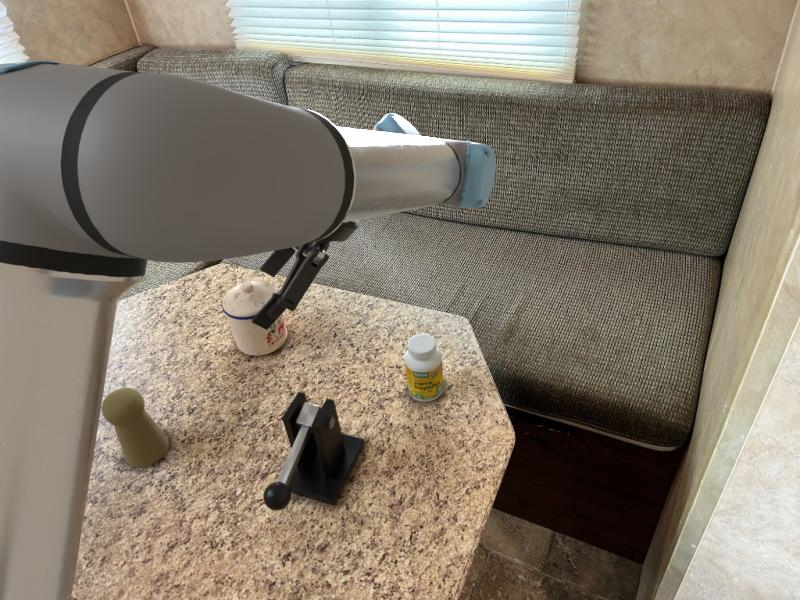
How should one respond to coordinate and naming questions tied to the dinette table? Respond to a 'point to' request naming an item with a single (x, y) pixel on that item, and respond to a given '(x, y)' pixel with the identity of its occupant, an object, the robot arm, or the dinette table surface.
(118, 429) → the olive green pawn
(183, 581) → the dinette table surface
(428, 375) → the supplement bottle
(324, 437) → the black lever base
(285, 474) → the lever with black knob
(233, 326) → the teacup with lid
